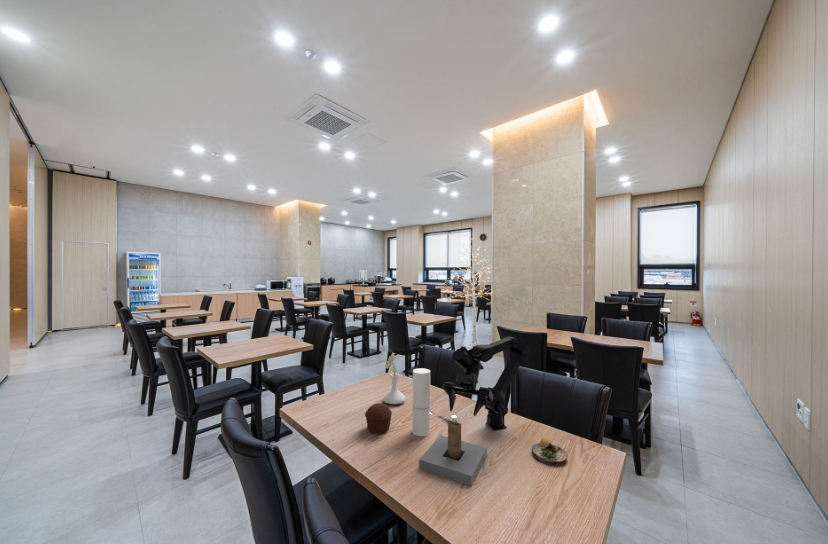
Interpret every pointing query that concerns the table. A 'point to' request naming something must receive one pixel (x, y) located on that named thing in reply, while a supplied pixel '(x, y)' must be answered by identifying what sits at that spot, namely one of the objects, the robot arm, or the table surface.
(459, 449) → the walnut peg
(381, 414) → the muffin
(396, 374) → the flower in vase
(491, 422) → the robot arm
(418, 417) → the cylindrical container
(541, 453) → the plate of food
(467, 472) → the hub plate
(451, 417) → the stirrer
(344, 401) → the table surface
